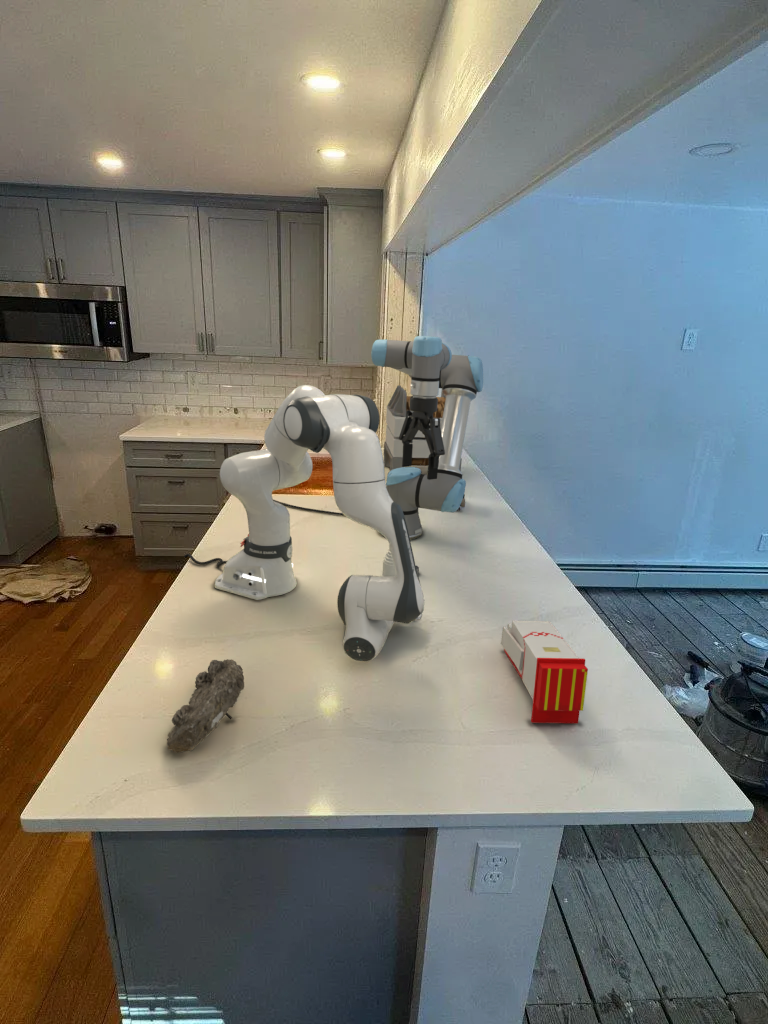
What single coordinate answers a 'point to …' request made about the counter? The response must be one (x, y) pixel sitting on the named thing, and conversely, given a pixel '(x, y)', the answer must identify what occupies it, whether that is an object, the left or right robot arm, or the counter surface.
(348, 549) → the counter surface
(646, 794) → the counter surface
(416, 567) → the cap
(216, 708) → the fossil
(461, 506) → the figurine character
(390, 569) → the bottle
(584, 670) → the toy
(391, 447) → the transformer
